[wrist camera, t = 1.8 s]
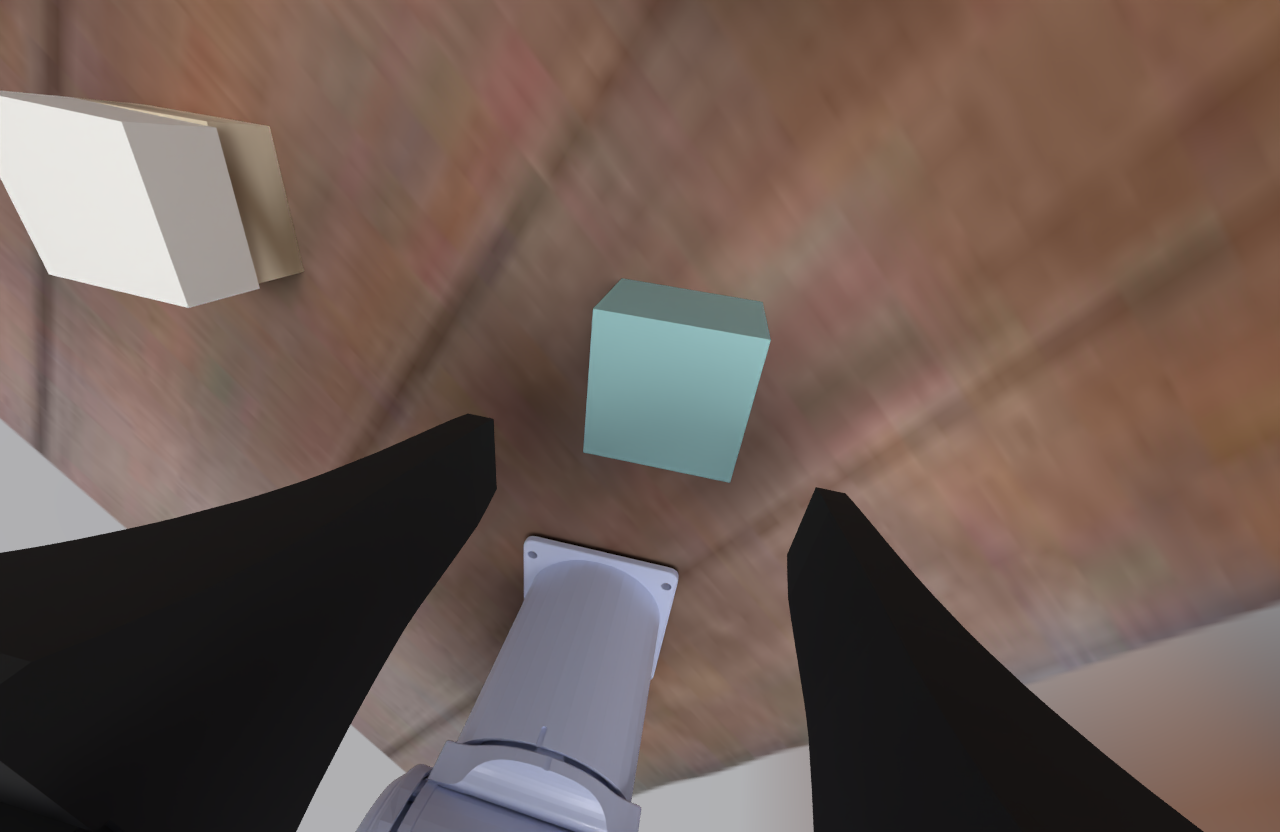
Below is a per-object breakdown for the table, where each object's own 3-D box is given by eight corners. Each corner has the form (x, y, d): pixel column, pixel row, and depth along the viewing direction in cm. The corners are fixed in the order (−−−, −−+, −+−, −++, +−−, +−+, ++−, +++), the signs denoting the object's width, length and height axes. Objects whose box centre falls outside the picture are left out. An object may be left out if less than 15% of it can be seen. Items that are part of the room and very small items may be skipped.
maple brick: (310, 269, 18) (255, 284, 16) (201, 248, 19) (133, 259, 17) (277, 126, 16) (206, 121, 14) (151, 105, 16) (64, 96, 14)
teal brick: (730, 422, 18) (730, 482, 15) (610, 398, 19) (583, 452, 15) (762, 300, 16) (770, 339, 12) (622, 277, 16) (592, 308, 13)
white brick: (260, 288, 16) (188, 307, 14) (136, 259, 17) (48, 274, 15) (216, 127, 14) (121, 121, 12) (71, 97, 14) (-46, 86, 12)
